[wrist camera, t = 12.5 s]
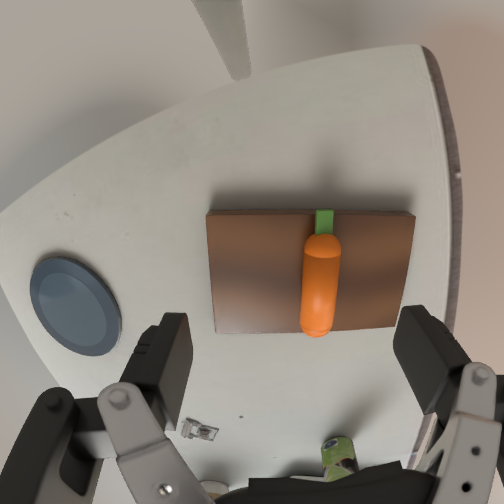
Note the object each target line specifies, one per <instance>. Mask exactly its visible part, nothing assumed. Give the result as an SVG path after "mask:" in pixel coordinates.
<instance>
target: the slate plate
mask: <svg viewBox="0 0 504 504" xmlns="http://www.w3.org/2000/svg"><path fill="white" fill-rule="evenodd" d="M30 296H31V301H32V304H33V308H34V310H35V313H36V315H37V317H38V319H39V320H40V322H41V323H42V325H43V326H44V328H45V329H46V330H47V331H48V333H49V334H50V335H51V336H52V337H53V338H54V339H55V340H56V341H58V342H59V343H60V344H62V345H63V346H64V347H66V348H68V349H69V350H71V351H73V352H76V353H78V354H81V355H86V356H100V355H104V354H106V353H108V352H110V351H111V350H112V349H113V348H114V347H115V345H116V344H117V342H118V340H119V338H120V335H121V328H122V323H121V316H120V312H119V308H118V306H117V303H116V301H115V299H114V297H113V295H112V293H111V292H110V290H109V289H108V287H107V286H106V285H105V283H104V282H103V281H102V280H101V279H100V278H99V277H98V276H97V275H96V274H95V273H94V272H93V271H92V270H91V269H89V268H88V267H86V266H85V265H84V264H82V263H80V262H78V261H76V260H73V259H71V258H67V257H59V256H58V257H51V258H48V259H46V260H44V261H43V262H41V263H40V264H39V265H38V266H37V267H36V268H35V270H34V272H33V274H32V277H31V281H30Z"/></svg>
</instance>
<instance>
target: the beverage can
mask: <svg viewBox="0 0 504 504" xmlns="http://www.w3.org/2000/svg"><path fill="white" fill-rule="evenodd" d="M321 454H322V463H323V472H324V481H325V482H331V481H335V480H337V479H340V478H343V477H345V476H348V475H350V474H353V473H355V472H358V471H359V467H358V462H357V458H356V454H355V449H354V445H353V442H352V440H351V439H349V438H346V437H336V438H332V439H330V440H328V441H327V442H325V443H324V444H323V445H322V447H321Z"/></svg>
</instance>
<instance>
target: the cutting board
mask: <svg viewBox="0 0 504 504" xmlns="http://www.w3.org/2000/svg"><path fill="white" fill-rule="evenodd" d="M315 216H316V210H216V211H209V212H208V213H207V214H206V228H207V242H208V255H209V268H210V280H211V291H212V302H213V312H214V322H215V332H216V333H303V330H302V328H301V326H300V310H301V295H302V277H303V257H304V246H305V243H306V241H307V239H308V238H309V237H310V236H311V235H313V234H315ZM415 219H416V216H414V215H412V214H411V213H409V212H397V211H366V210H334V214H333V232H332V235H334V236H335V237H336V238H337V240H338V241H339V243H340V246H341V259H340V269H339V279H338V288H337V296H336V304H335V312H334V319H333V325H332V328H331V329H330V331H345V330H360V329H373V328H385V327H395V324H396V320H397V316H398V312H399V308H400V304H401V300H402V295H403V290H404V286H405V281H406V276H407V270H408V265H409V259H410V253H411V247H412V241H413V234H414V227H415Z"/></svg>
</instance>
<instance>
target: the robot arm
mask: <svg viewBox="0 0 504 504" xmlns="http://www.w3.org/2000/svg"><path fill="white" fill-rule="evenodd" d="M393 349H394V353H395V355H396V357H397V359H398V361H399V363H400V365H401V367H402V369H403V371H404V373H405V375H406V377H407V380H408V382H409V384H410V386H411V388H412V390H413V392H414V394H415V396H416V399H417V401H418V403H419V405H420V407H421V409H422V412H423V414H424V415H427V414H430V413H434V412H436V414H437V417H436V419H435V420H434V423H433V426H432V429H431V432H430V435H429V438H428V441H427V444H426V447H425V449H424V452H423V455H422V457H421V460H420V462H419V464H418V465H417V467H416V468H415V470H410V469H402V465H401V462H400V460H399V461H395V462H391V463H387V464H382V465H378V466H373V467H368V468H365V469H362V470H360V471H358V472H355V473H353V474H350V475H348V476H345V477H343V478H340V479H337V480H335V481H331V482H322V481H313V480H305V479H297V478H290V477H282V478H249V486H248V487H244V488H240V489H236V490H233V491H230V492H228V493H225V494H223V495H221V496H219V497H217V498H215V499H214V500H213V499H212V498H211V497H210V496H209V494H208V493H207V492H206V490H205V489H204V488H203V486H202V485H201V484H200V482H199V481H198V480H197V478H196V477H195V475H194V474H193V473H192V471H191V470H190V468H189V467H188V466H187V464H186V463H185V461H184V460H183V458H182V457H181V455H180V454H179V452H178V451H177V449H176V448H175V446H174V445H173V443H172V442H171V440H170V439H169V438H167V437H166V435H165V434H164V431H165V430H170V431H175V430H176V426H177V421H178V417H179V413H180V409H181V405H182V401H183V397H184V393H185V389H186V385H187V381H188V377H189V373H190V369H191V365H192V360H193V345H192V340H191V334H190V328H189V323H188V317H187V314H186V313H169V312H166V313H165V314H164V316H163V318H162V320H161V322H160V324H159V326H155V325H152V326H150V327H149V328H148V329H147V330H146V331H145V332H144V333H142V335H141V337H140V339H139V341H138V343H137V345H136V347H135V349H134V351H133V352H134V353H132V355H131V357H130V359H129V361H128V363H127V365H126V368H125V370H124V372H123V374H122V376H121V378H120V380H119V382H118V383H114V384H111V385H109V386H107V387H106V388H104V389H103V390H102V391H101V392H100V394H99V396H98V397H94V398H81V399H74V397H73V396H72V394H71V392H70V391H69V390H67V389H65V388H62V387H55V388H50V389H48V390H46V391H45V392H43V393H42V394H41V395H40V396H39V397H38V399H37V401H36V403H35V404H34V406H33V408H32V410H31V412H30V414H29V416H28V417H27V419H26V421H25V423H24V425H23V427H22V429H21V431H20V433H19V435H18V437H17V439H16V441H15V444H14V446H13V448H12V450H11V452H10V454H9V456H8V459H7V461H6V463H5V465H4V468H3V470H2V472H1V475H0V504H92V501H93V497H94V494H95V489H96V486H97V482H98V478H99V475H100V471H101V467H102V464H103V461H104V458H116V462H117V465H118V467H119V469H120V471H121V474H122V476H123V478H124V480H125V482H126V484H127V486H128V488H129V490H130V492H131V494H132V496H133V498H134V500H135V502H136V503H137V504H487V503H488V499H489V495H490V492H491V488H492V483H493V479H494V474H495V469H496V467H497V470H498V472H499V475H500V478H501V481H502V483H503V486H504V375H496V374H495V372H494V371H493V370H492V369H491V368H490V367H489V366H487V365H486V364H483V363H480V362H472V361H471V360H470V358H469V357H468V355H467V354H466V353H465V351H464V350H463V348H462V347H461V346H460V344H459V343H458V342H457V340H455V338H454V336H453V335H452V334H451V333H449V330H448V328H447V327H446V326H445V325H444V323H443V322H441V321H440V320H438V319H437V318H435V317H434V316H431V315H430V314H429V312H428V311H427V310H426V308H425V307H424V306H423V305H412V306H404V307H403V308H402V310H401V313H400V317H399V321H398V325H397V328H396V332H395V335H394V339H393Z"/></svg>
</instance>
